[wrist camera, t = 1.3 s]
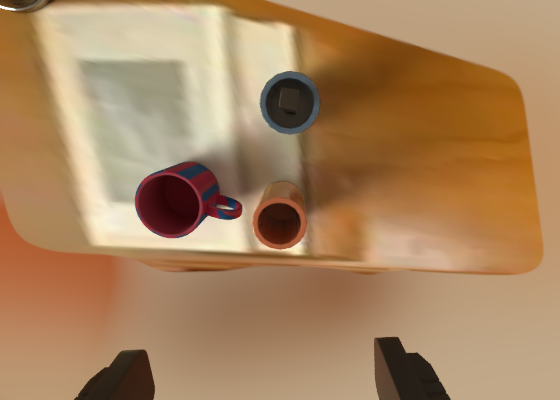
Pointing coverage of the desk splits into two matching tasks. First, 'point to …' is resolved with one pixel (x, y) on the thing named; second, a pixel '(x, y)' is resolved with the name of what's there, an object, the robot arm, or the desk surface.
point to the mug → (181, 200)
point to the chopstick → (289, 100)
